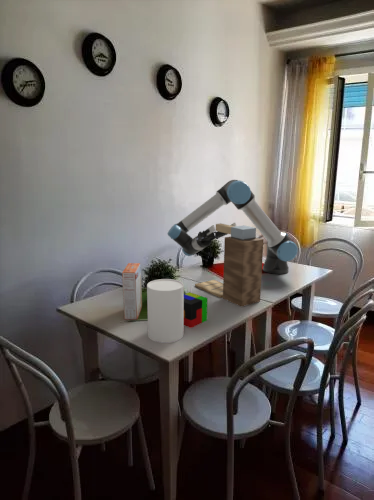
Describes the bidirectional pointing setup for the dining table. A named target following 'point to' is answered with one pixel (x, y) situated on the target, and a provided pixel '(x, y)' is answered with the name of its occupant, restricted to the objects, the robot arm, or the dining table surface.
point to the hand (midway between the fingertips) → (225, 226)
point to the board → (212, 287)
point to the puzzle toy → (194, 309)
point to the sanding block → (237, 231)
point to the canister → (165, 310)
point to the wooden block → (242, 270)
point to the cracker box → (132, 291)
